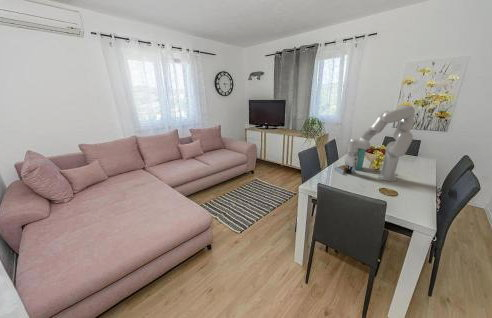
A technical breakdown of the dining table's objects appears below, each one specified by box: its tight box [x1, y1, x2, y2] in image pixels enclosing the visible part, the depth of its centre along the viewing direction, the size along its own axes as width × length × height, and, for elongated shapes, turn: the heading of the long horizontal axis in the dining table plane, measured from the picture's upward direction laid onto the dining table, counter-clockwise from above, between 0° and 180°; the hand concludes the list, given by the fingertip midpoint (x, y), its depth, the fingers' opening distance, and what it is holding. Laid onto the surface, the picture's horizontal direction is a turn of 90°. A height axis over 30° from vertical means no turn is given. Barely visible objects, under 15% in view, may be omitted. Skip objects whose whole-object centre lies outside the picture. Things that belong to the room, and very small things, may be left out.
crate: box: [339, 164, 348, 174], centre depth 180 cm, size 6×6×5 cm
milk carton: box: [355, 148, 367, 171], centre depth 185 cm, size 9×9×25 cm
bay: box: [334, 166, 356, 175], centre depth 180 cm, size 13×10×4 cm
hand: (348, 172), depth 175 cm, fingers closed
